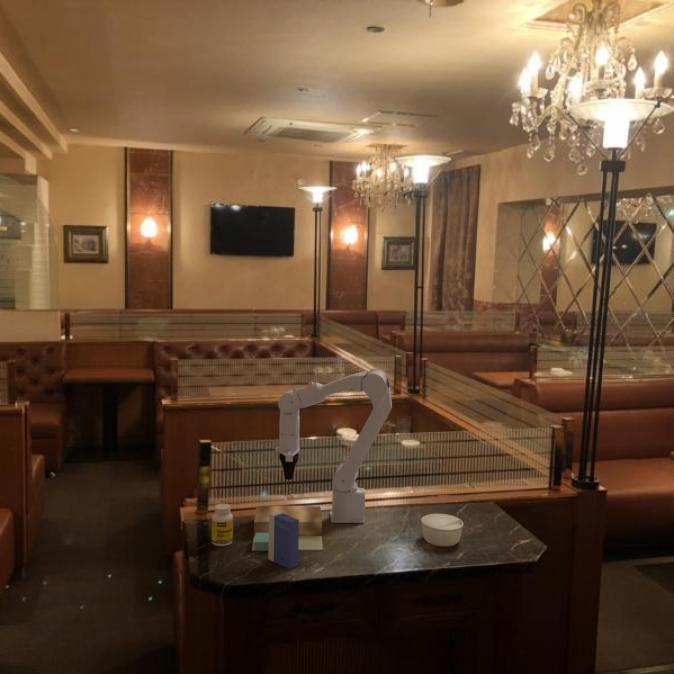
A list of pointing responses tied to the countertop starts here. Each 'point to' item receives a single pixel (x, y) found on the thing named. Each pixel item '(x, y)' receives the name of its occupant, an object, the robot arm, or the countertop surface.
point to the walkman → (283, 539)
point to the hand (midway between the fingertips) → (288, 478)
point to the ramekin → (441, 529)
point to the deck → (306, 514)
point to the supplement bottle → (222, 525)
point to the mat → (304, 543)
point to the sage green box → (262, 541)
